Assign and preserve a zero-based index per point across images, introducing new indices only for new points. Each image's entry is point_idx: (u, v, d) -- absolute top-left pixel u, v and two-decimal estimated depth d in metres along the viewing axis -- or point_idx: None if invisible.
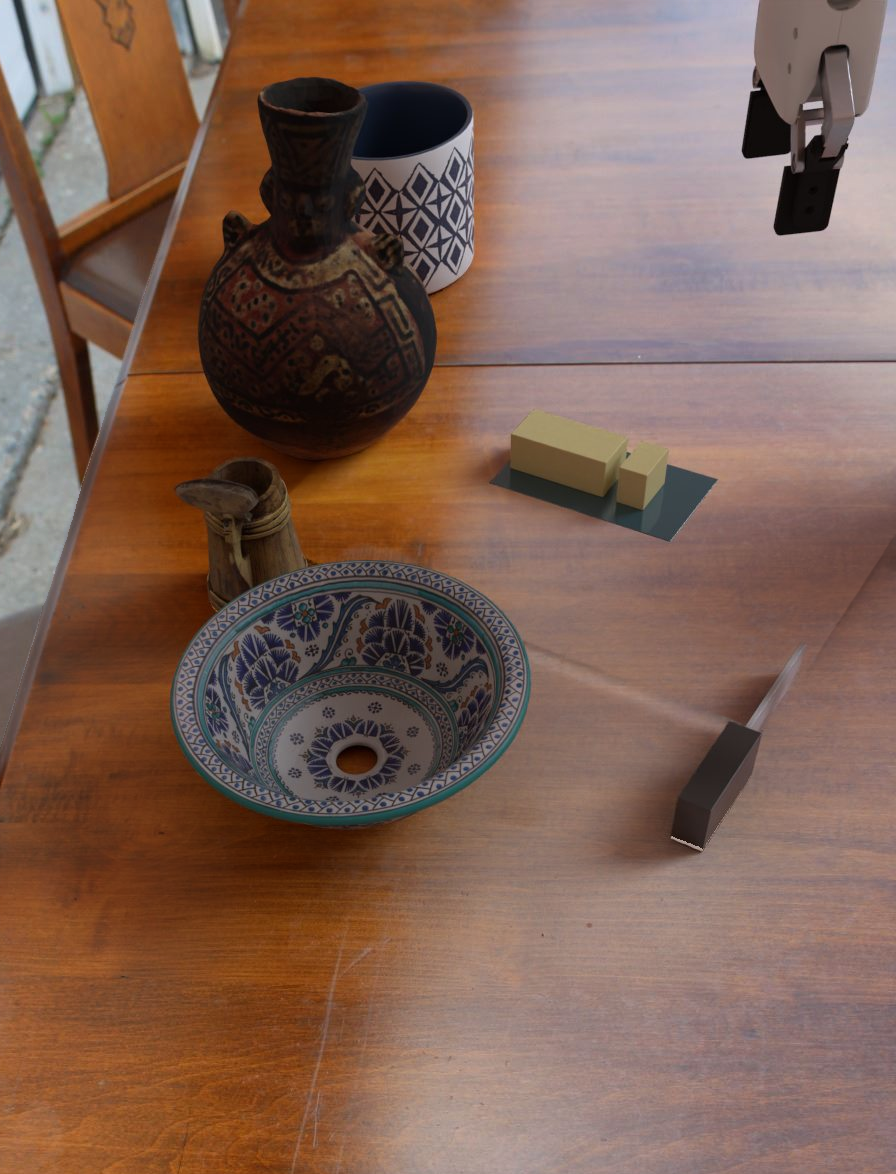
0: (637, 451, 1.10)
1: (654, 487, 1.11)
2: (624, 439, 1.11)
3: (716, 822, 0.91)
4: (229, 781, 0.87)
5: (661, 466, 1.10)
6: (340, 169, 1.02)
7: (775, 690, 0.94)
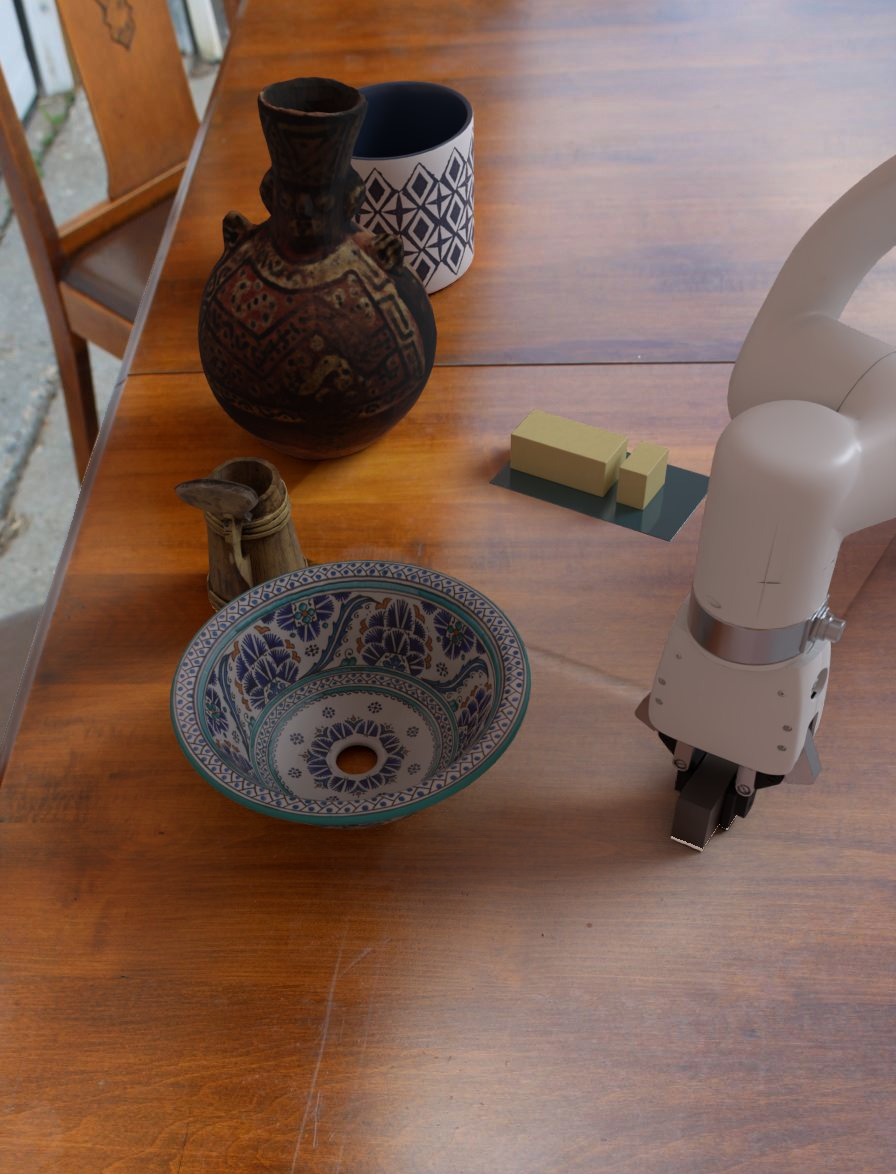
0: (637, 451, 1.10)
1: (654, 487, 1.11)
2: (624, 439, 1.11)
3: (716, 822, 0.91)
4: (229, 781, 0.87)
5: (661, 466, 1.10)
6: (340, 169, 1.02)
7: None
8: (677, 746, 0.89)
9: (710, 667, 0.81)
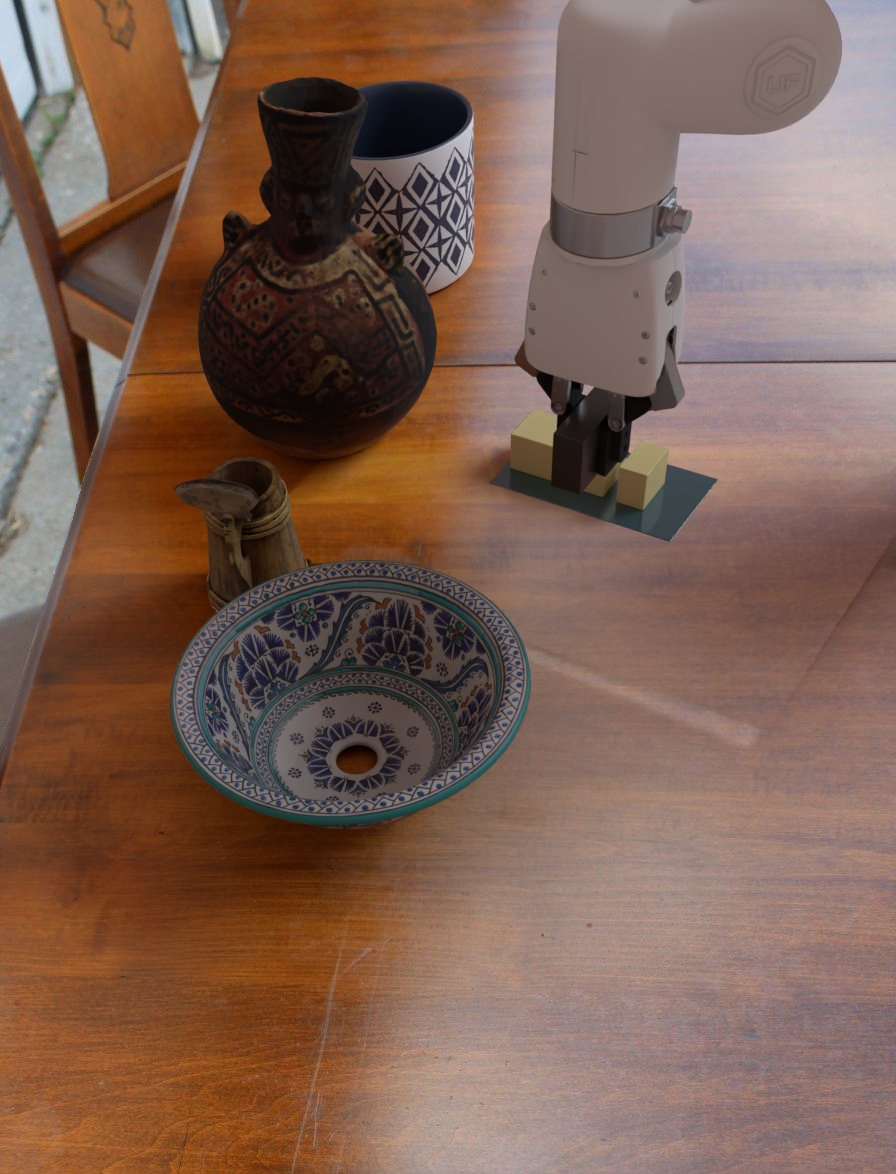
0: (637, 451, 1.10)
1: (654, 487, 1.11)
2: None
3: (593, 465, 0.96)
4: (229, 781, 0.87)
5: (661, 466, 1.10)
6: (340, 169, 1.02)
7: None
8: (553, 386, 0.94)
9: (572, 276, 0.86)
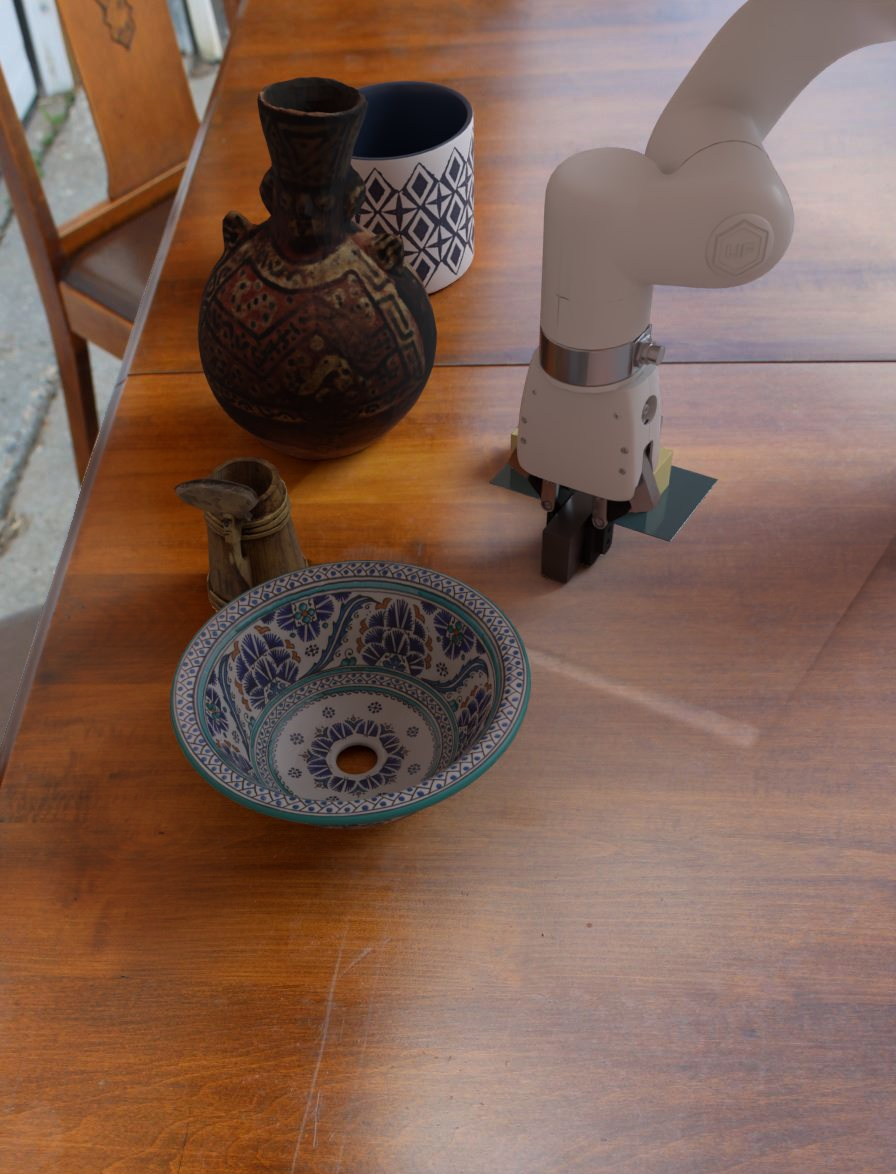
0: None
1: None
2: None
3: (578, 557, 1.06)
4: (229, 781, 0.87)
5: (665, 467, 1.10)
6: (340, 169, 1.02)
7: None
8: (543, 487, 1.04)
9: (559, 398, 0.96)
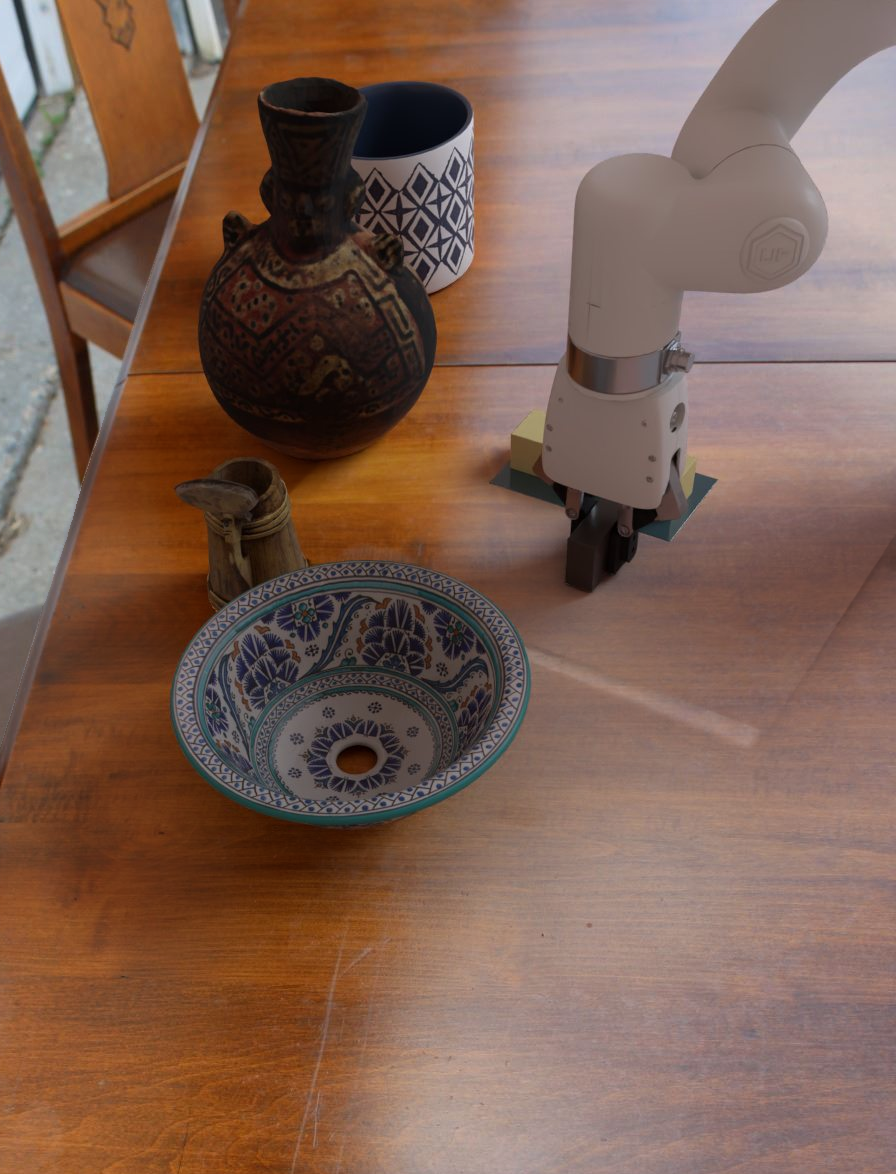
0: None
1: None
2: None
3: (603, 566, 1.05)
4: (229, 781, 0.87)
5: (689, 475, 1.09)
6: (340, 169, 1.02)
7: None
8: (568, 495, 1.03)
9: (586, 405, 0.95)
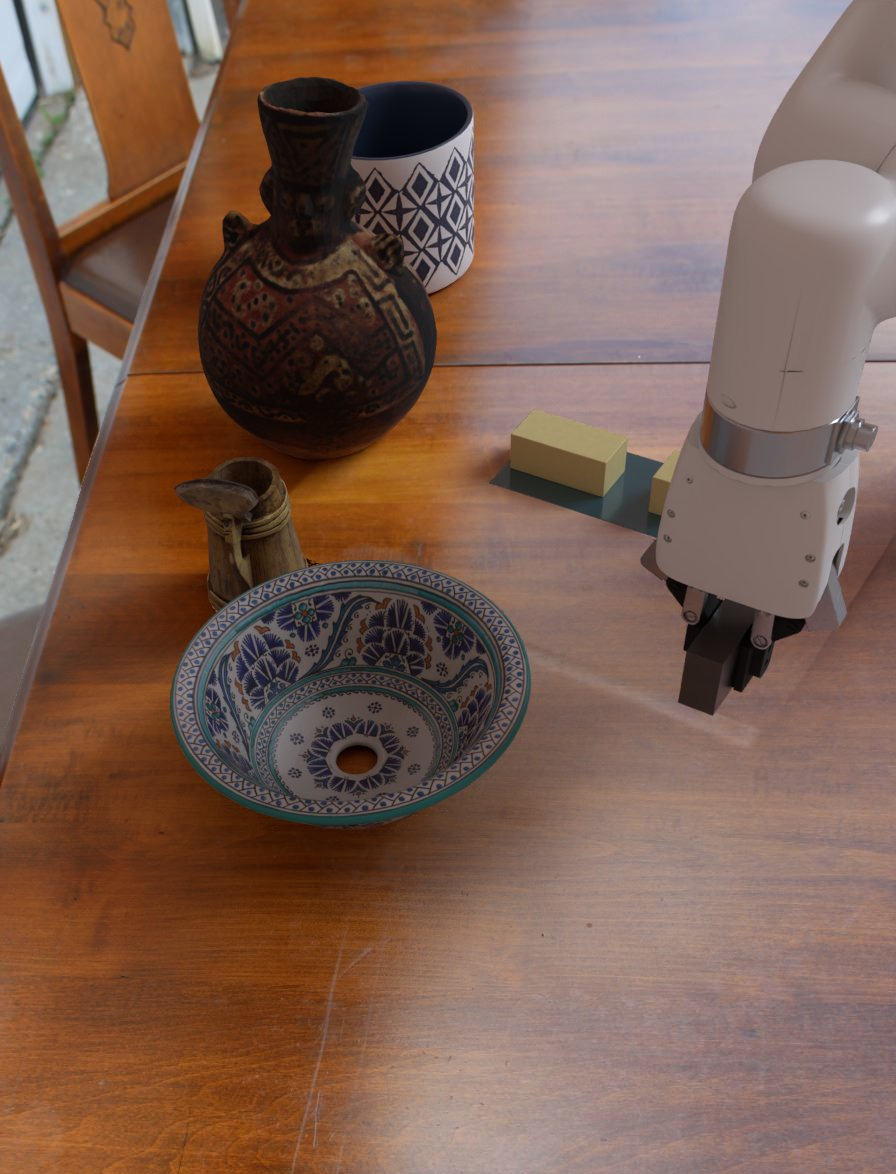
0: (670, 460, 1.09)
1: None
2: (624, 439, 1.11)
3: (728, 682, 0.83)
4: (229, 781, 0.87)
5: None
6: (340, 169, 1.02)
7: None
8: (687, 594, 0.81)
9: (725, 489, 0.73)
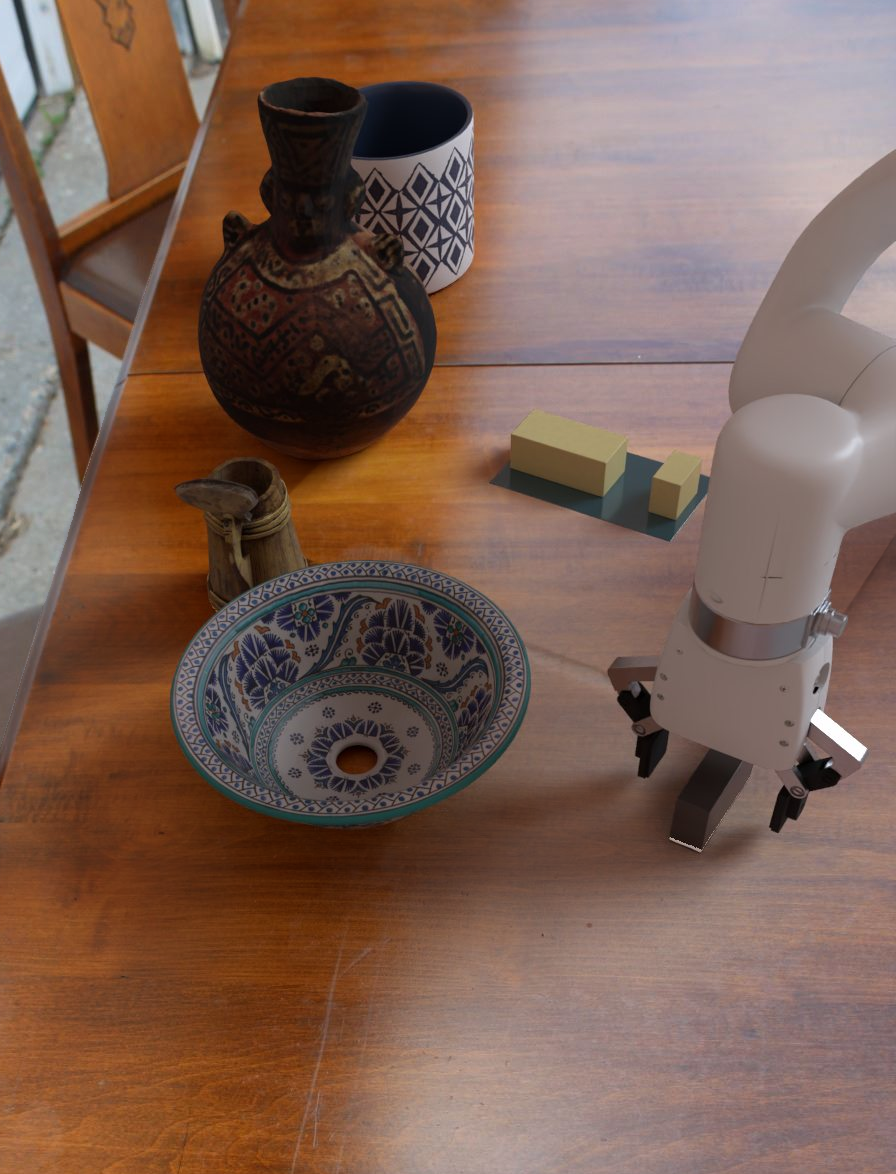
0: (670, 460, 1.09)
1: (687, 497, 1.10)
2: (624, 439, 1.11)
3: (715, 823, 0.91)
4: (229, 781, 0.87)
5: (694, 476, 1.09)
6: (340, 169, 1.02)
7: None
8: (650, 717, 0.89)
9: (712, 662, 0.80)
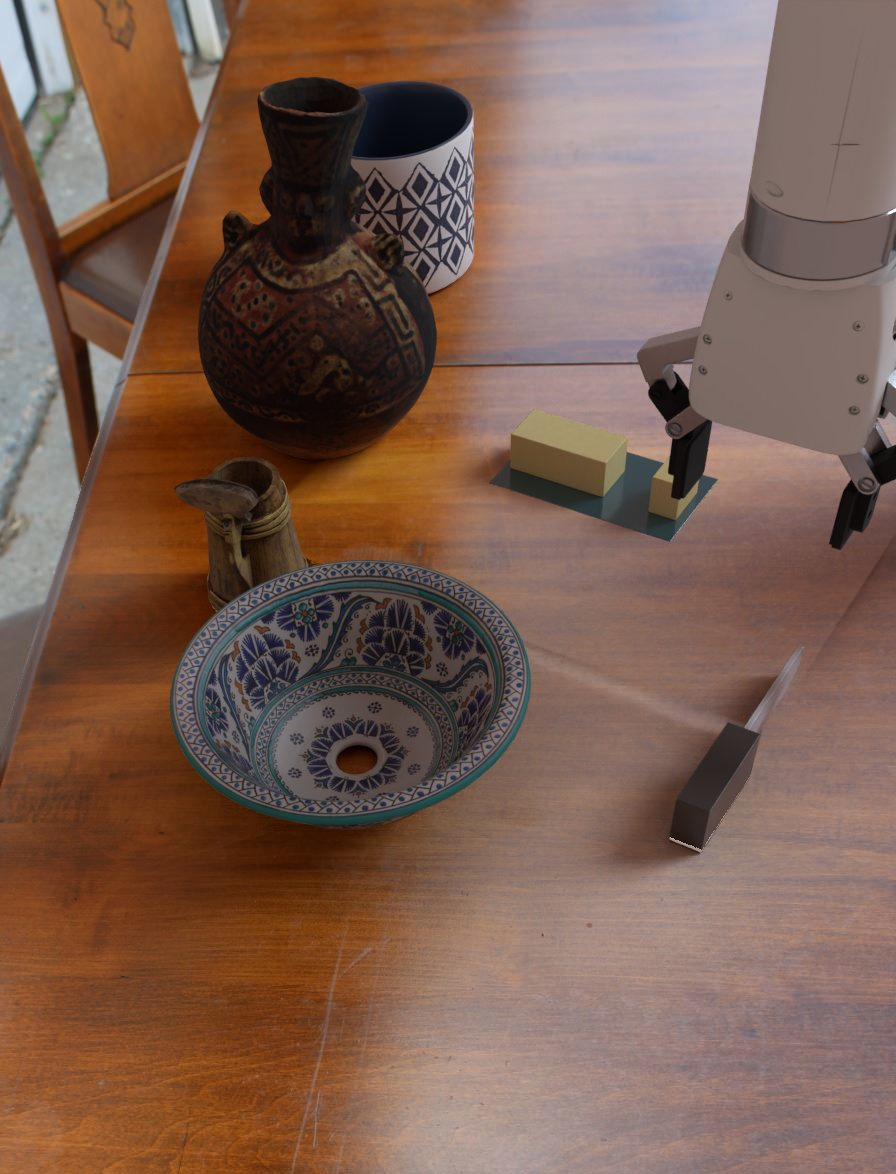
0: None
1: (687, 497, 1.10)
2: (624, 439, 1.11)
3: (715, 823, 0.91)
4: (229, 781, 0.87)
5: None
6: (340, 169, 1.02)
7: (774, 691, 0.94)
8: (688, 409, 0.74)
9: (769, 302, 0.66)
